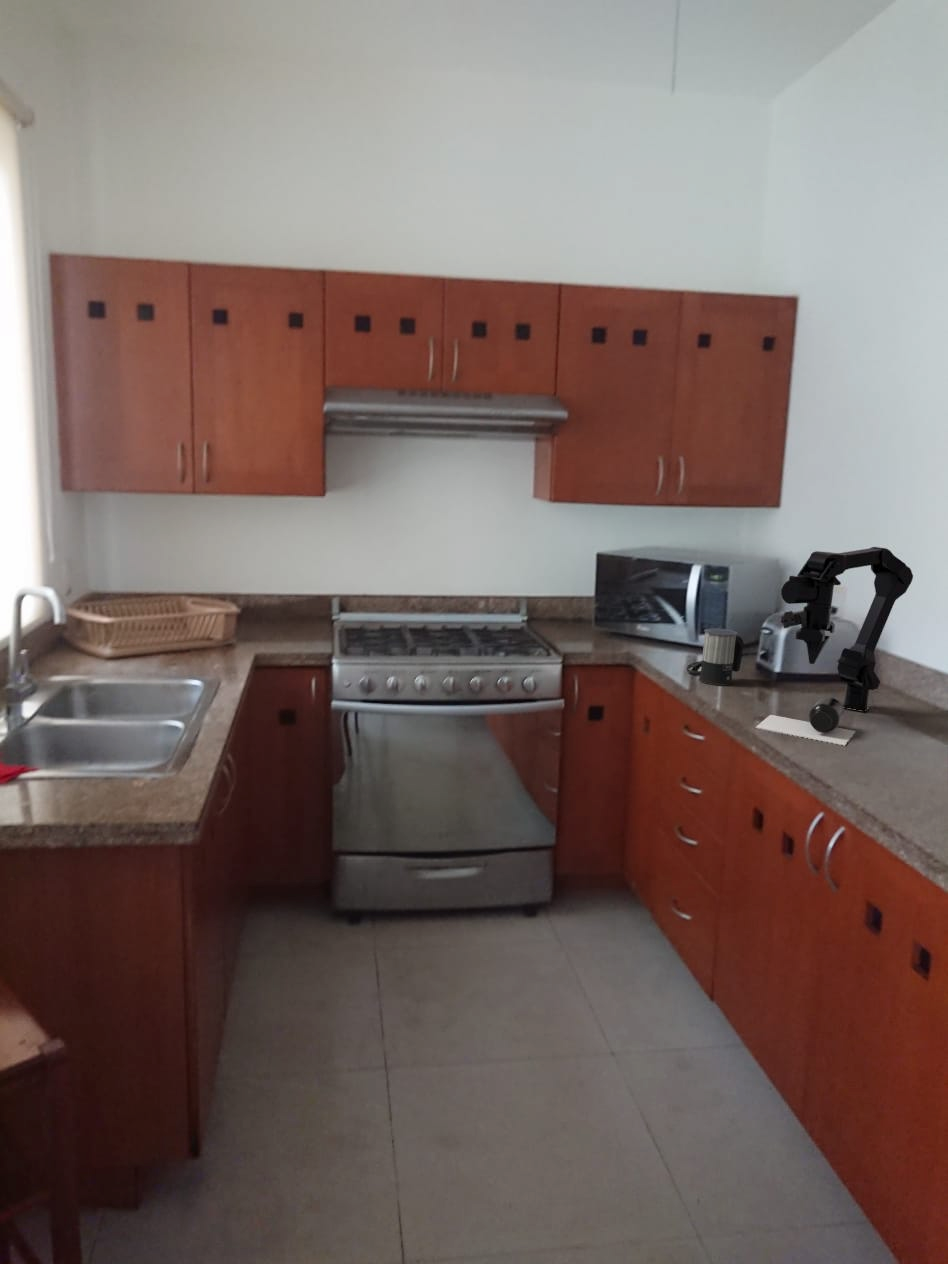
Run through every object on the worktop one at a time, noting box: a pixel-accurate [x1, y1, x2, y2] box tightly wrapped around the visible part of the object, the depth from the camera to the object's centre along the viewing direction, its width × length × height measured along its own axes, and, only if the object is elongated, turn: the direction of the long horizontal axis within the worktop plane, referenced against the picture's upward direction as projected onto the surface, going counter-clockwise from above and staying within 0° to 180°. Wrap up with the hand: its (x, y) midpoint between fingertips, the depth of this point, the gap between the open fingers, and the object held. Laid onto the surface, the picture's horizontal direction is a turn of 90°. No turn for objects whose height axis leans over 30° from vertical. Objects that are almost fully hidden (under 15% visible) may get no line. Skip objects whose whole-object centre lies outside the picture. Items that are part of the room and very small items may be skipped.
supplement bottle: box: [808, 696, 845, 732], centre depth 218 cm, size 7×7×12 cm
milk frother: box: [686, 627, 744, 687], centre depth 264 cm, size 14×16×15 cm
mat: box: [755, 714, 856, 747], centre depth 218 cm, size 14×20×1 cm
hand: (811, 663), depth 232 cm, fingers closed
